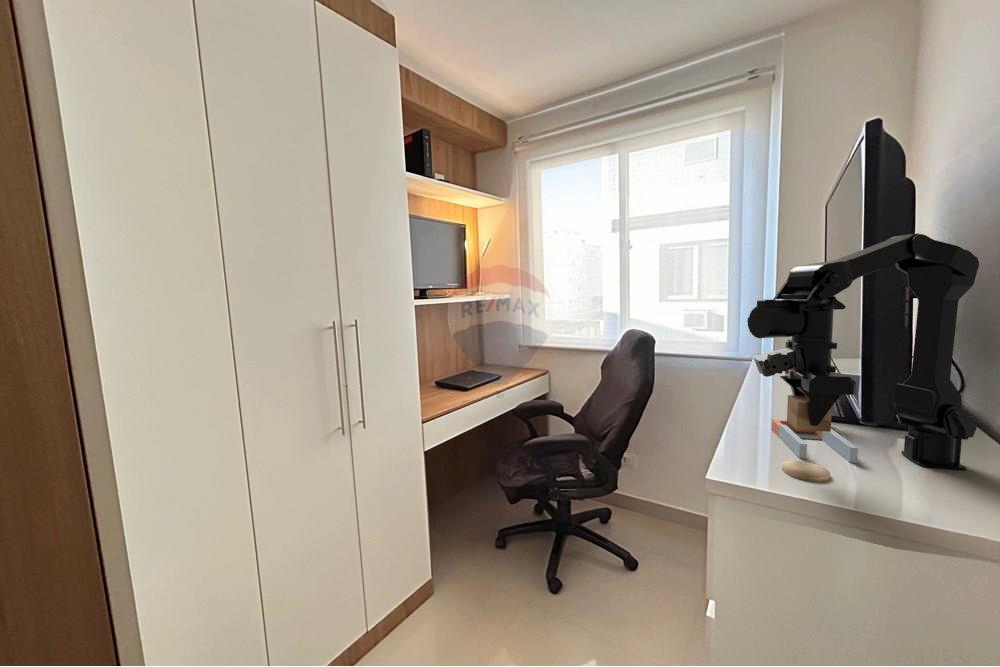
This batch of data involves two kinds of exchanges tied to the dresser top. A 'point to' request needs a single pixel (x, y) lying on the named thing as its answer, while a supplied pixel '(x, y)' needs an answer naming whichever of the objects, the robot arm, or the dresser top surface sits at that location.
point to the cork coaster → (806, 471)
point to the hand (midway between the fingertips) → (807, 420)
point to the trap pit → (800, 433)
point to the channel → (830, 438)
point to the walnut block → (804, 415)
